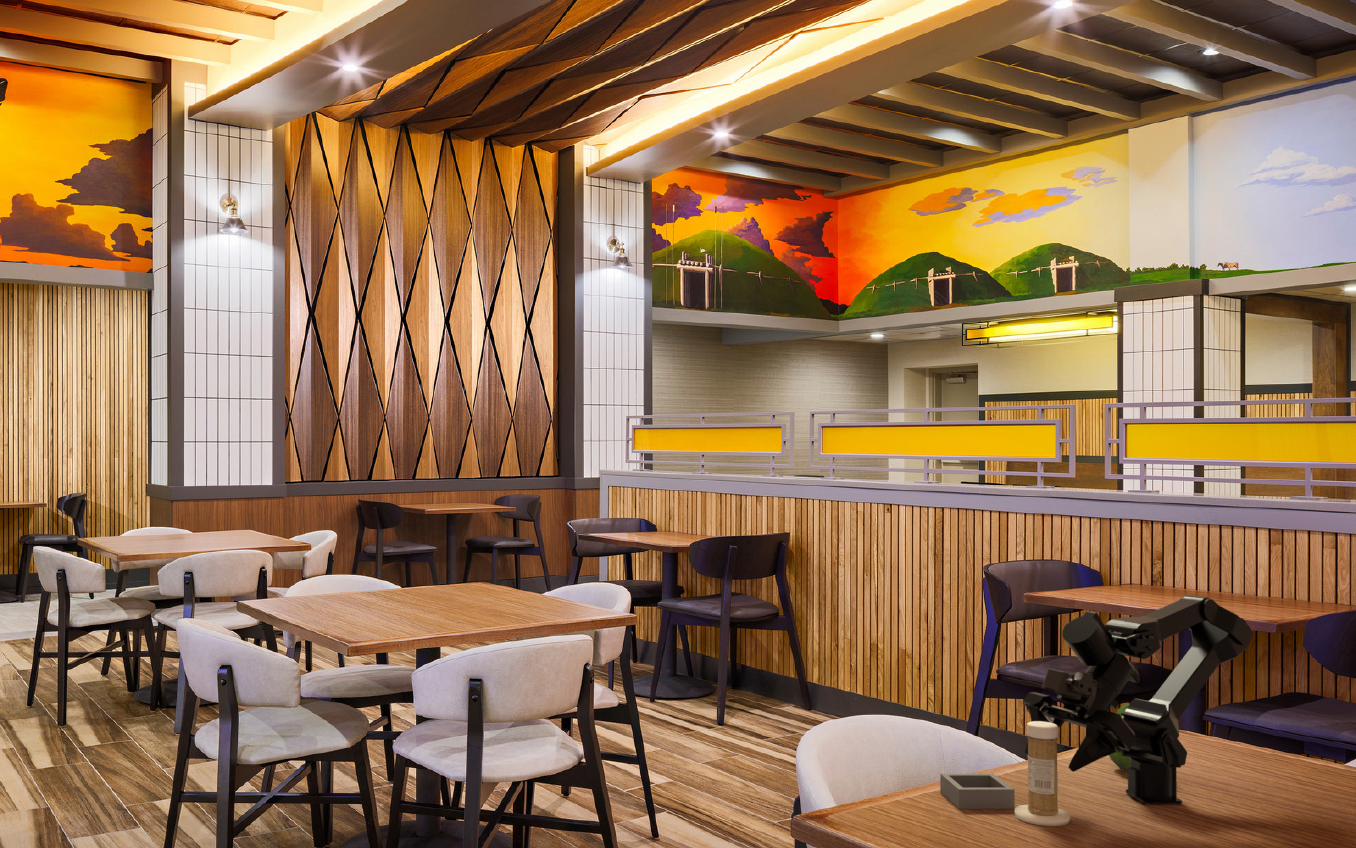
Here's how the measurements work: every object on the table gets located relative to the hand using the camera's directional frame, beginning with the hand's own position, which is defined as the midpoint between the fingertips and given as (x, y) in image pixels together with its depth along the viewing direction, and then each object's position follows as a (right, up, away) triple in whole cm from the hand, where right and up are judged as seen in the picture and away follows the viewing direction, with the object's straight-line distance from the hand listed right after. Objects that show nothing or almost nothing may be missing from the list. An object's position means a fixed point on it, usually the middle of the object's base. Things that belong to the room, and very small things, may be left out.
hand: (1048, 762), depth 163 cm
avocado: (+25, -11, +27) cm, 38 cm away
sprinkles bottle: (-1, -8, -1) cm, 8 cm away
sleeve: (-9, -9, +7) cm, 14 cm away
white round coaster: (-1, -8, -1) cm, 8 cm away
